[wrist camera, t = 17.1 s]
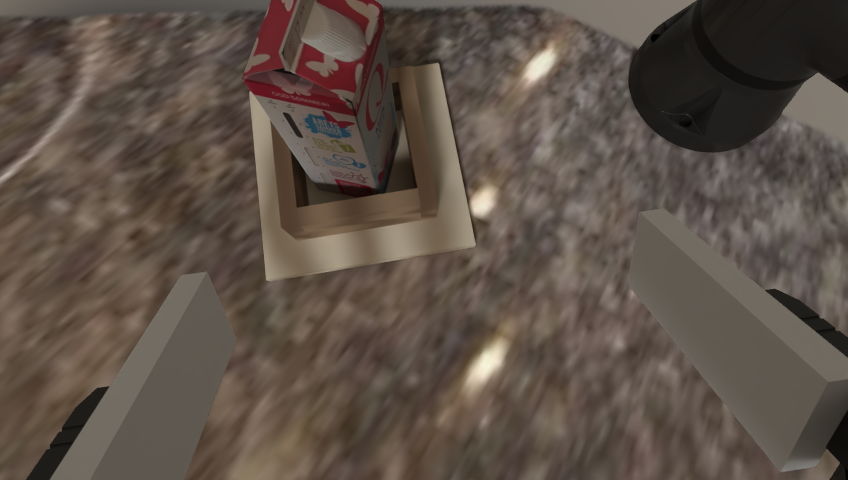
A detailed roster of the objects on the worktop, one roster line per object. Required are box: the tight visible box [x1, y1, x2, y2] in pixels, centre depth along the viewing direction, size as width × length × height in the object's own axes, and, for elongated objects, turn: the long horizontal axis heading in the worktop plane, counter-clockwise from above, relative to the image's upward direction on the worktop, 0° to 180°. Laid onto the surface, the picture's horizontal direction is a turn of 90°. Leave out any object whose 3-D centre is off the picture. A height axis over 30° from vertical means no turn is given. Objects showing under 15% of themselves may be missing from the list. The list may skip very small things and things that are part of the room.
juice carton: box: [242, 0, 399, 198], centre depth 34 cm, size 7×7×22 cm
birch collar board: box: [249, 63, 476, 281], centre depth 43 cm, size 20×20×6 cm
